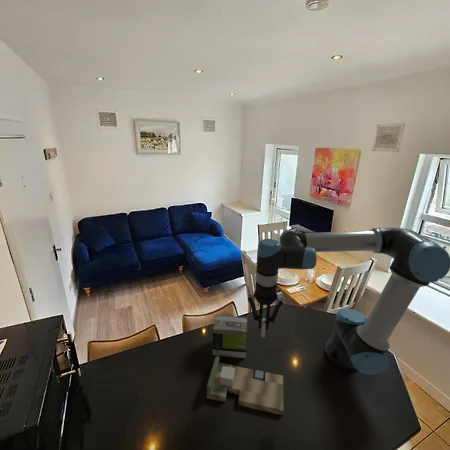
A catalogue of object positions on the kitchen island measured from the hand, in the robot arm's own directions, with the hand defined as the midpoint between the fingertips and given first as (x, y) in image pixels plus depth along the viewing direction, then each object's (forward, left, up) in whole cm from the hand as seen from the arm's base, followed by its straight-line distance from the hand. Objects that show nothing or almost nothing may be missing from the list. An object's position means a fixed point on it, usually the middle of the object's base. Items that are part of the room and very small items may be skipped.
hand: (263, 334), depth 98 cm
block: (0, +2, -21) cm, 21 cm away
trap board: (+4, +7, -21) cm, 23 cm away
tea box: (+14, -11, -22) cm, 28 cm away
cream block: (+12, +7, -19) cm, 23 cm away
